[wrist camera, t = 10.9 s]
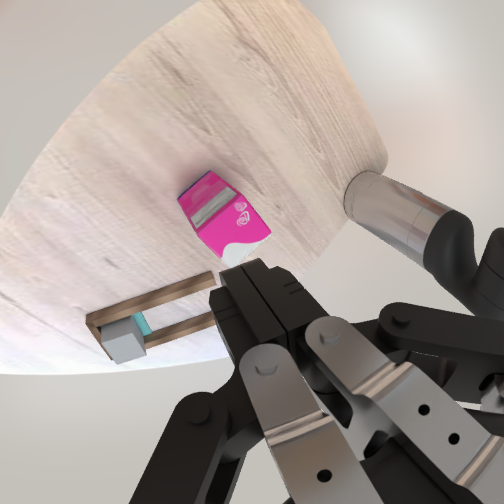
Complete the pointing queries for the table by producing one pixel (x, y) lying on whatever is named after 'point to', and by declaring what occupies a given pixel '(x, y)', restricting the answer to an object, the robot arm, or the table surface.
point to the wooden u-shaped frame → (154, 300)
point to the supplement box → (223, 219)
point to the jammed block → (123, 340)
